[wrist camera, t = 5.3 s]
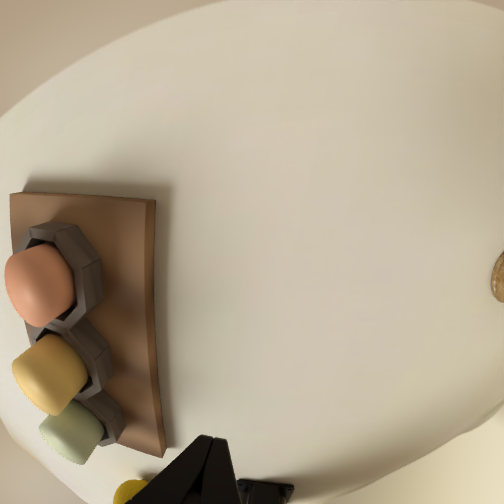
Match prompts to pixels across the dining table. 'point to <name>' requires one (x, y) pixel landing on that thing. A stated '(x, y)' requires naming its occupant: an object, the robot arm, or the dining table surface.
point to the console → (104, 304)
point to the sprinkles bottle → (498, 279)
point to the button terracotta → (40, 283)
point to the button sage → (73, 432)
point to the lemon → (128, 490)
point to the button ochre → (50, 373)
